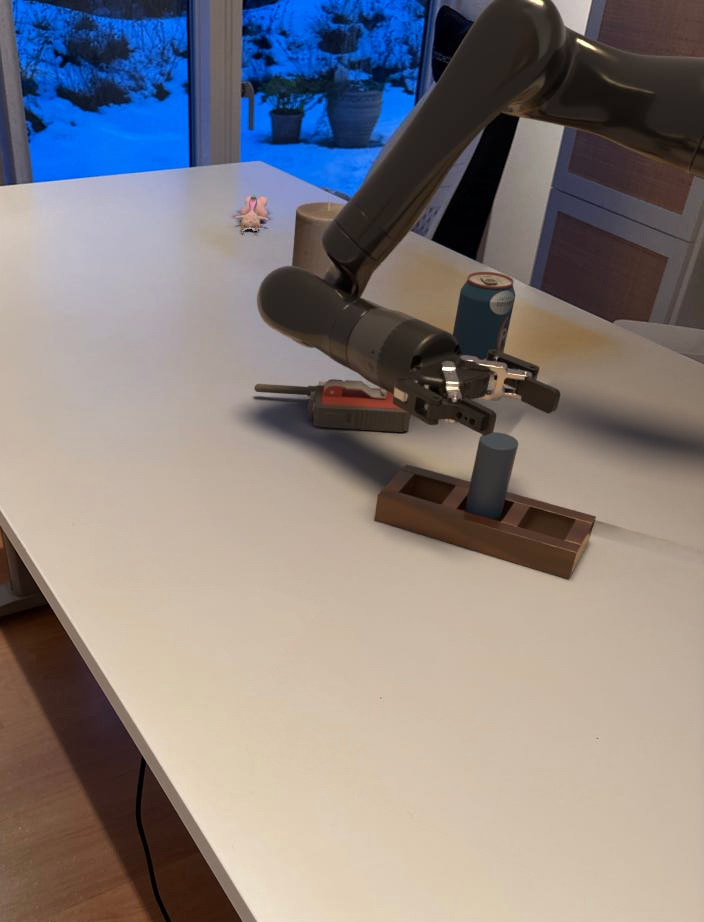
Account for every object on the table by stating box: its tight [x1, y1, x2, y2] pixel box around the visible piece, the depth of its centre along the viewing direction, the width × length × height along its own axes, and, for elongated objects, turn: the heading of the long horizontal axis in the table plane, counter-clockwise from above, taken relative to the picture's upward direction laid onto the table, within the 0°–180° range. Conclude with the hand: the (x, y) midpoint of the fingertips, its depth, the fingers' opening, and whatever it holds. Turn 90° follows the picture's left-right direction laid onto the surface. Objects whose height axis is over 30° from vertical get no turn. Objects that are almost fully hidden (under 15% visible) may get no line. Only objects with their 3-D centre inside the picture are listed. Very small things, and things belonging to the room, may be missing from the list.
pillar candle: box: [291, 200, 346, 278], centre depth 142 cm, size 10×10×15 cm
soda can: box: [452, 271, 516, 360], centre depth 125 cm, size 7×7×12 cm
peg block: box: [373, 463, 597, 580], centre depth 95 cm, size 8×20×3 cm, turn 60°
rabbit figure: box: [235, 194, 269, 231], centre depth 179 cm, size 6×6×15 cm
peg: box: [465, 431, 519, 521], centre depth 93 cm, size 4×4×10 cm
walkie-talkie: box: [254, 378, 412, 433], centre depth 115 cm, size 9×4×20 cm
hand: (525, 413), depth 87 cm, fingers open, 8 cm apart
